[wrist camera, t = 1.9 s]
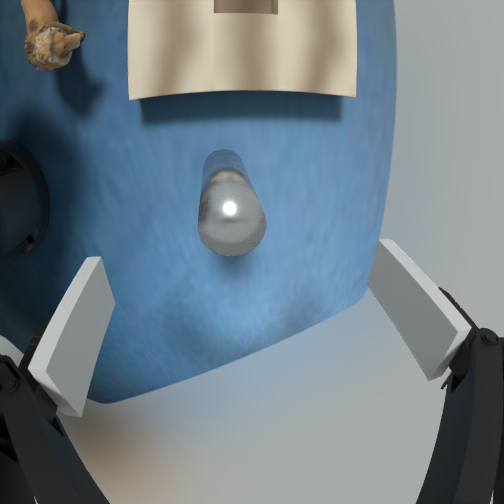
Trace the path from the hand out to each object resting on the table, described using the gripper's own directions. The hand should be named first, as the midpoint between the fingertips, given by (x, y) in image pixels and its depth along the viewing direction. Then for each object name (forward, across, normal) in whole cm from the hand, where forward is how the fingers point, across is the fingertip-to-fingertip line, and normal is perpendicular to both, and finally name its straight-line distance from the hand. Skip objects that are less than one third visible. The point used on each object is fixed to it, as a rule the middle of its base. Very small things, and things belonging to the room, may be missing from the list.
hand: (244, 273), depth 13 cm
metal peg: (+19, 0, 0) cm, 19 cm away
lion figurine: (+19, -16, +19) cm, 31 cm away
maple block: (+19, +2, +18) cm, 26 cm away
